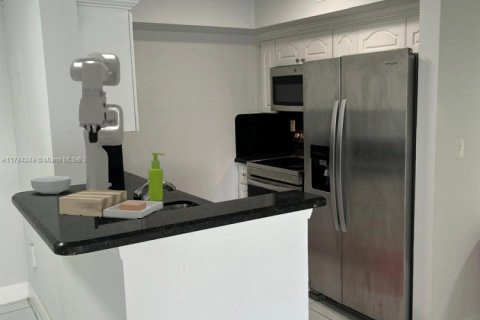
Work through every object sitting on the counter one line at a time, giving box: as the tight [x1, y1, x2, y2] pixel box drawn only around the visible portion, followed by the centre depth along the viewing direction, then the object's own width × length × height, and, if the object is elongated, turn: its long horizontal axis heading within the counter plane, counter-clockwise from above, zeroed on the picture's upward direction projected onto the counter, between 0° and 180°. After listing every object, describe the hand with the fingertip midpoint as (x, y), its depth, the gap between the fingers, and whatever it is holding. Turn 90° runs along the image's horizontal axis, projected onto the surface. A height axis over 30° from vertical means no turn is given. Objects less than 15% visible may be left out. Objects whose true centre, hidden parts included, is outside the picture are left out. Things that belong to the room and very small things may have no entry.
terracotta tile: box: [120, 200, 146, 211], centre depth 163 cm, size 7×7×3 cm
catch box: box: [102, 199, 164, 220], centre depth 164 cm, size 20×14×2 cm
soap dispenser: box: [148, 152, 166, 202], centre depth 189 cm, size 6×7×20 cm
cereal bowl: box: [30, 175, 72, 195], centre depth 203 cm, size 17×17×7 cm
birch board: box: [58, 189, 128, 218], centre depth 167 cm, size 20×16×6 cm
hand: (93, 142), depth 172 cm, fingers closed
